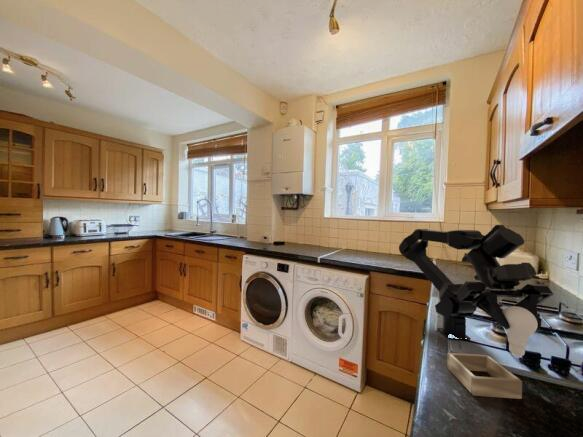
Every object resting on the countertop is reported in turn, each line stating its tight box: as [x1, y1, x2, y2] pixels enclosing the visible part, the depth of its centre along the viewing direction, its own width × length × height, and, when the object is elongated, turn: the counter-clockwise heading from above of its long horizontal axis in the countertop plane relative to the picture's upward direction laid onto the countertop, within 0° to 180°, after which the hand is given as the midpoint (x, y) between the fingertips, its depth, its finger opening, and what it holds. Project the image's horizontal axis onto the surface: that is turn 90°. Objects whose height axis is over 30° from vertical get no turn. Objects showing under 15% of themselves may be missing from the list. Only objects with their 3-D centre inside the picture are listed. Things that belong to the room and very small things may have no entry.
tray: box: [446, 352, 523, 400], centre depth 53 cm, size 9×9×4 cm
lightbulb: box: [502, 305, 538, 357], centre depth 54 cm, size 6×6×11 cm
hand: (523, 329), depth 53 cm, fingers closed on lightbulb, 6 cm apart
